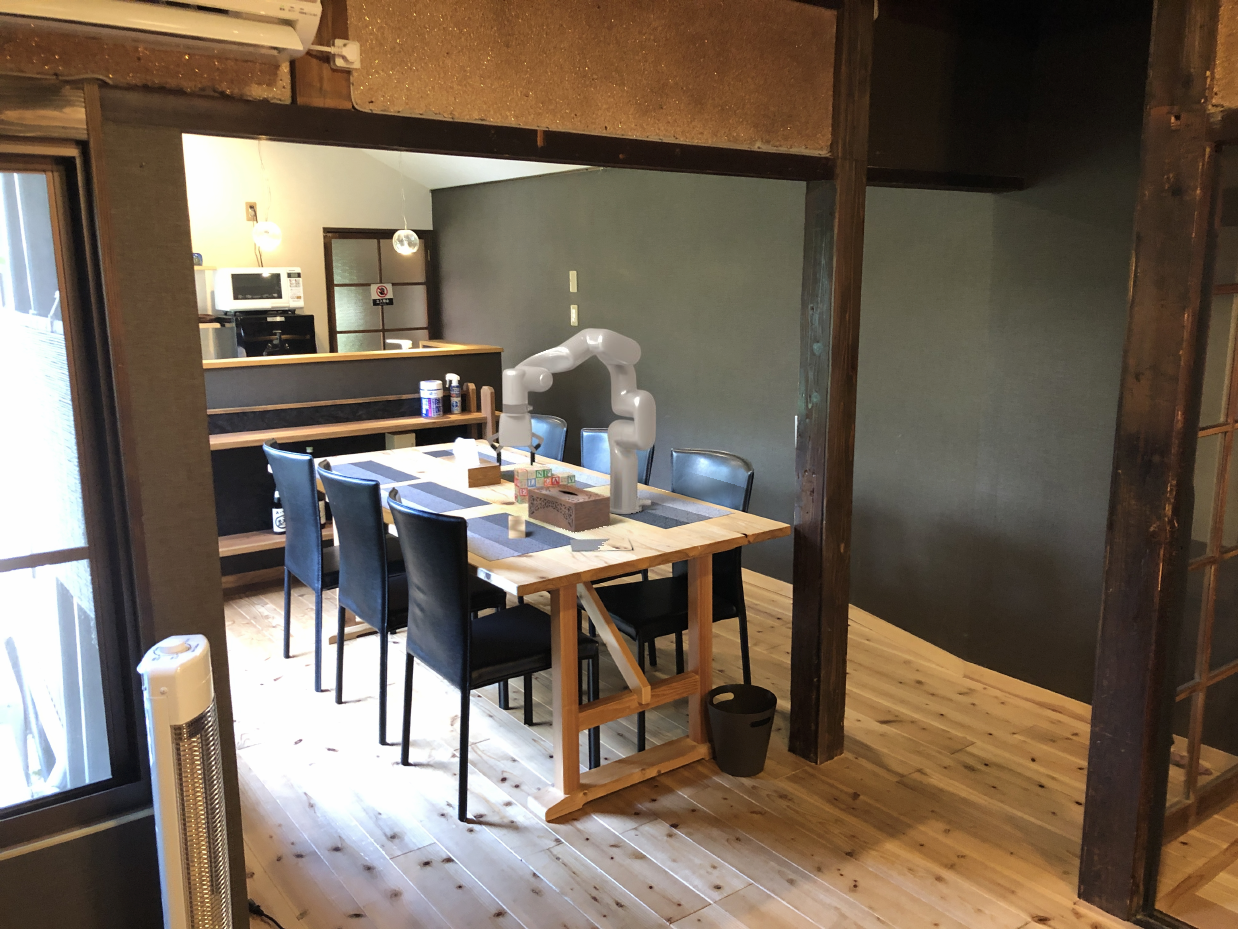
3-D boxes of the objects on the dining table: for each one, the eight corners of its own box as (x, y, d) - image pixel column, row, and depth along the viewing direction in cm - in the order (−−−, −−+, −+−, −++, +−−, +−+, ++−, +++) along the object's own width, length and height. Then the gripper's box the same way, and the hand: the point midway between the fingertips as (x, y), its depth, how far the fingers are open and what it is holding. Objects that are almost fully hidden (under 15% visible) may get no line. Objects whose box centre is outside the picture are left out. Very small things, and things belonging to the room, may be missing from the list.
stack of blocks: (569, 496, 348) (569, 463, 346) (575, 499, 342) (575, 466, 340) (514, 501, 340) (513, 467, 338) (519, 504, 334) (518, 470, 332)
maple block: (524, 534, 295) (524, 515, 294) (525, 538, 290) (525, 519, 289) (508, 534, 294) (508, 515, 293) (508, 538, 289) (508, 519, 288)
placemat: (628, 539, 289) (628, 538, 289) (633, 550, 277) (633, 549, 277) (569, 540, 287) (569, 539, 287) (572, 551, 275) (572, 550, 275)
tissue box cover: (528, 518, 316) (528, 489, 314) (563, 511, 325) (562, 483, 323) (574, 533, 296) (574, 502, 294) (609, 526, 305) (610, 496, 303)
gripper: (543, 407, 289) (543, 462, 293) (486, 408, 287) (487, 463, 291) (544, 411, 282) (544, 467, 285) (486, 411, 280) (487, 467, 283)
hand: (515, 465), depth 288 cm, fingers open, 9 cm apart
